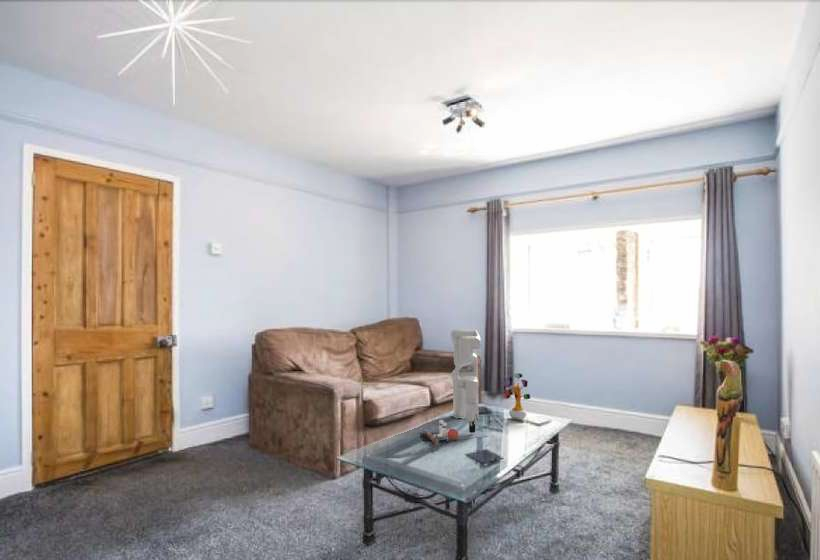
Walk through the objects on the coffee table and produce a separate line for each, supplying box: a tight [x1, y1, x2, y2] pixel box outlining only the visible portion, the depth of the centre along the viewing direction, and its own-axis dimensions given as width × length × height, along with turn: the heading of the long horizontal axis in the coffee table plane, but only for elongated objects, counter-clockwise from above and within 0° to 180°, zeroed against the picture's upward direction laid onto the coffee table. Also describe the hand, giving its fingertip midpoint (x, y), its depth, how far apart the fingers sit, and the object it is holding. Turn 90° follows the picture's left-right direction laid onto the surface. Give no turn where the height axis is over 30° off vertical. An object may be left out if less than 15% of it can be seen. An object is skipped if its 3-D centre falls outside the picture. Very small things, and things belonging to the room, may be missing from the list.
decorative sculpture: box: [503, 373, 531, 421], centre depth 286 cm, size 20×8×30 cm, turn 37°
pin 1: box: [438, 419, 444, 434], centre depth 252 cm, size 2×2×9 cm
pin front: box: [432, 432, 448, 438], centre depth 249 cm, size 2×2×9 cm
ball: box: [447, 428, 459, 441], centre depth 247 cm, size 6×6×6 cm
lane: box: [445, 430, 488, 442], centre depth 253 cm, size 11×30×1 cm, turn 107°
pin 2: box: [442, 422, 448, 439], centre depth 247 cm, size 2×2×9 cm
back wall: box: [423, 429, 440, 446], centre depth 248 cm, size 20×2×2 cm, turn 17°
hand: (472, 432), depth 255 cm, fingers closed
